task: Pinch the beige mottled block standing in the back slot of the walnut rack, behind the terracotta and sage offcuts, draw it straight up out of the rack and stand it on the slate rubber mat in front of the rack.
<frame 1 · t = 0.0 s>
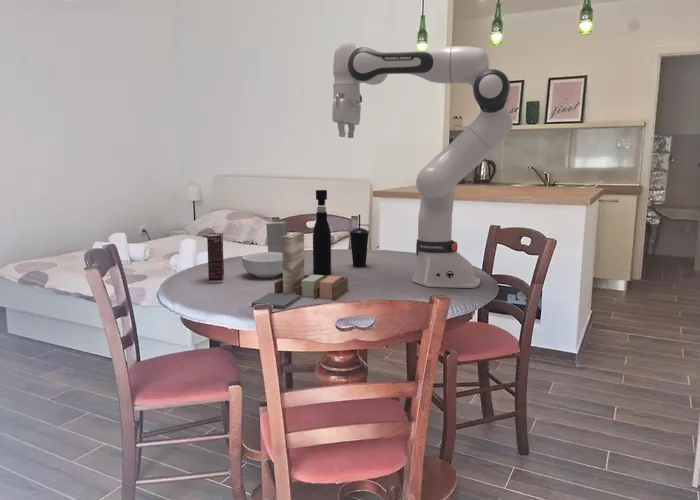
hand: (346, 137, 183), 48 cm above the table, fingers open, 8 cm apart
slate mat: (276, 302, 156), on the table
sage offcut: (313, 293, 167), resting in offcut rack
drinking cup: (359, 266, 208), on the table
supplement box: (216, 281, 184), on the table
cereal bowl: (266, 276, 192), on the table
beige mottled block: (294, 291, 169), resting in offcut rack
wine bottle: (322, 274, 194), on the table
terracotta offcut: (330, 295, 165), resting in offcut rack
skincare box: (278, 261, 220), on the table
offcut rack: (311, 293, 167), on the table
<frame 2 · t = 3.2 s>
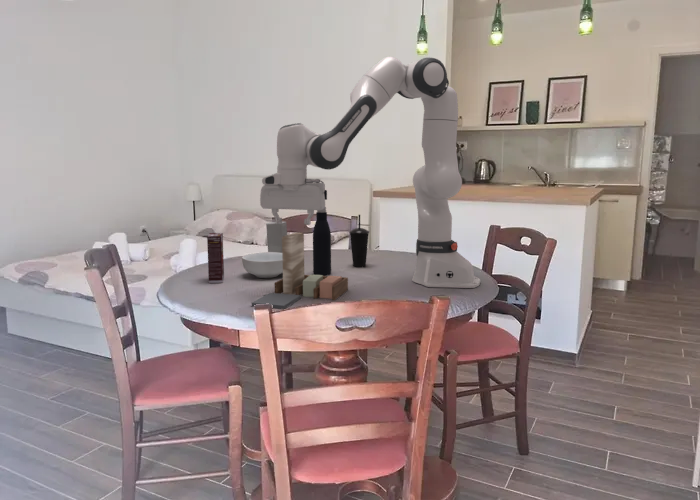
hand: (293, 224, 165), 21 cm above the table, fingers open, 8 cm apart
nothing on the table moved.
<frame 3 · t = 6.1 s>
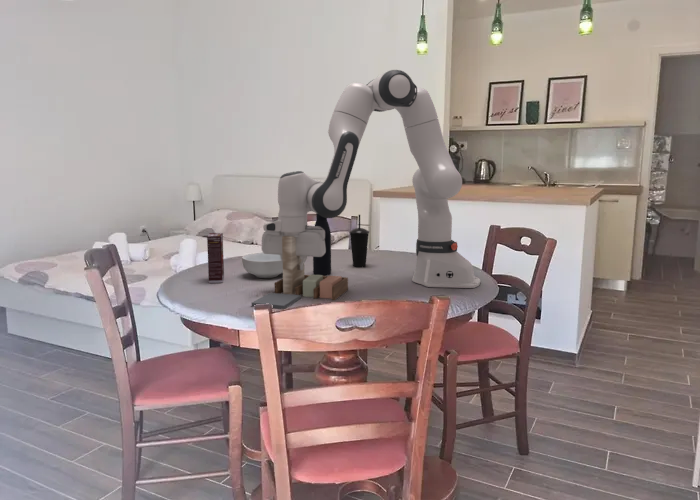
hand: (293, 269, 167), 7 cm above the table, fingers closed on beige mottled block, 3 cm apart
beige mottled block: (294, 291, 169), resting in offcut rack, touching gripper
everything else where it was.
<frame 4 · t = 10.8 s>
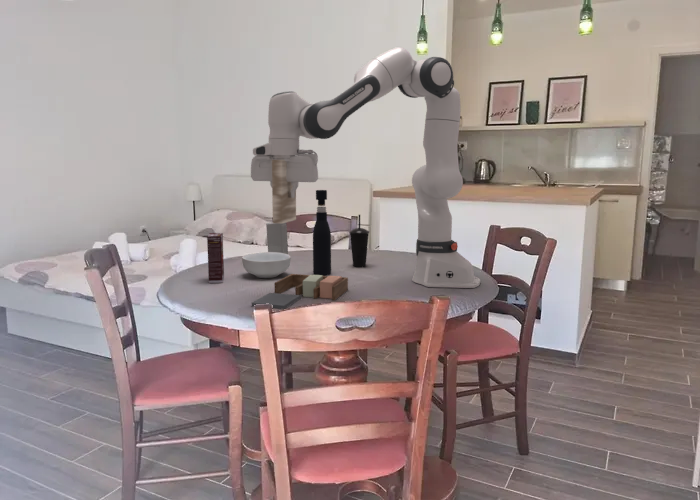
hand: (284, 197, 159), 30 cm above the table, fingers closed on beige mottled block, 3 cm apart
beige mottled block: (284, 221, 160), point 23 cm above the table, touching gripper
everything else where it was.
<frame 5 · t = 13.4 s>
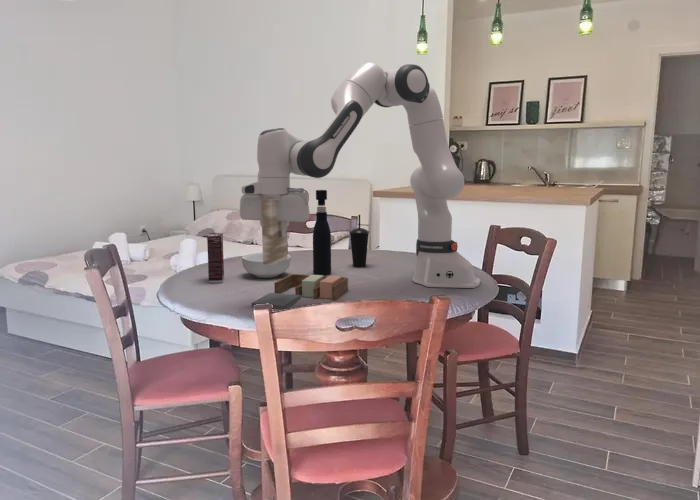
hand: (275, 236, 153), 19 cm above the table, fingers closed on beige mottled block, 3 cm apart
beige mottled block: (275, 261, 154), point 12 cm above the table, touching gripper
everything else where it was.
when the fingers open (10 cm above the table, at t = 15.4 s): beige mottled block drops 1 cm, resting on slate mat.
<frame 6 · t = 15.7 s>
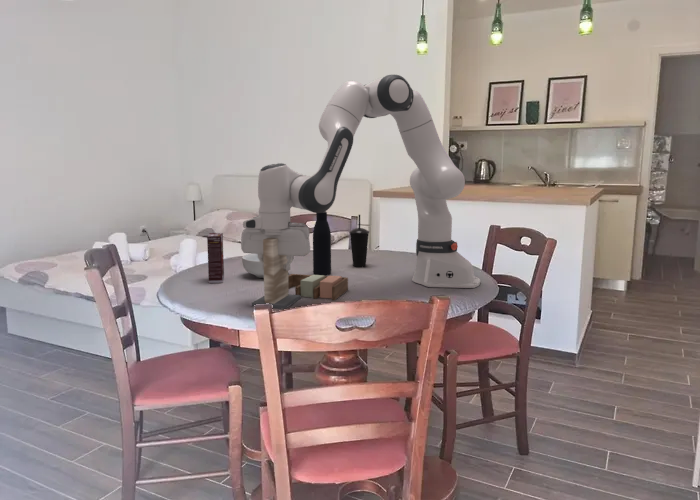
hand: (276, 269, 155), 10 cm above the table, fingers open, 5 cm apart
beige mottled block: (276, 298, 156), point 1 cm above the table, touching slate mat
everything else where it was.
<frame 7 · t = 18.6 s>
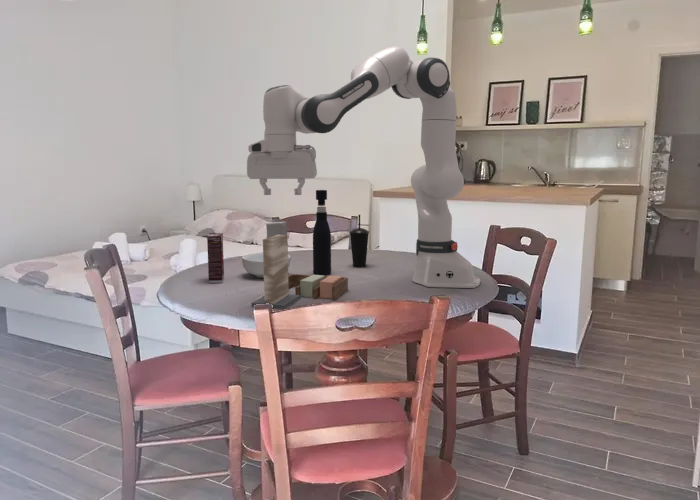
hand: (282, 194, 154), 31 cm above the table, fingers open, 8 cm apart
nothing on the table moved.
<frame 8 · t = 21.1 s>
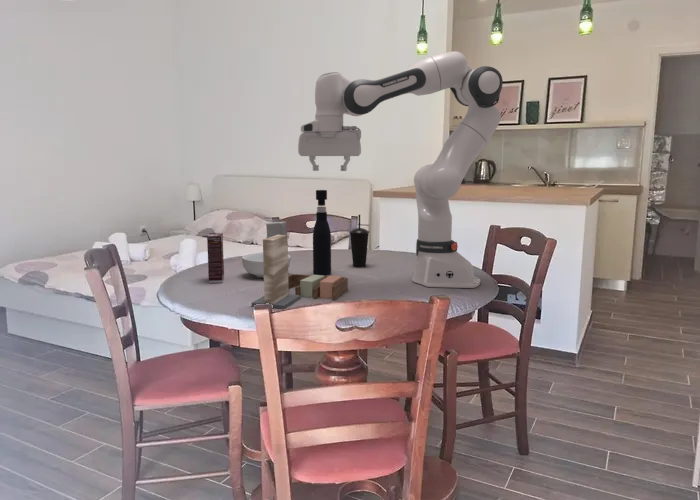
hand: (329, 170, 172), 37 cm above the table, fingers open, 8 cm apart
nothing on the table moved.
at the end: beige mottled block inside the target area on the slate mat (0.1 cm from its centre), point 1.0 cm above the slate mat's base; beige mottled block tilted 0°; the gripper is holding nothing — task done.
